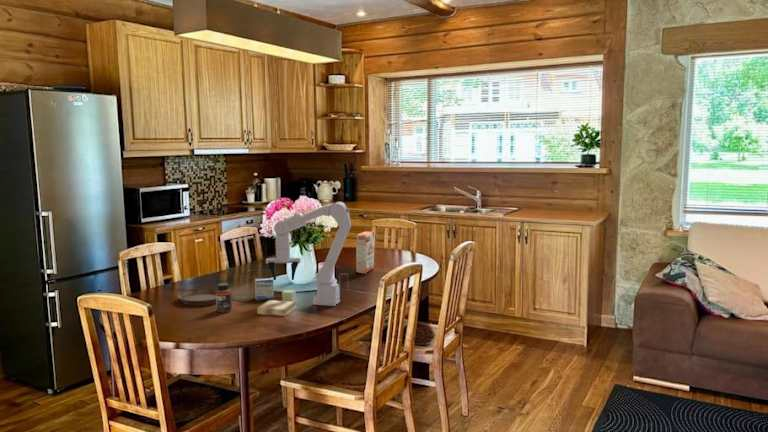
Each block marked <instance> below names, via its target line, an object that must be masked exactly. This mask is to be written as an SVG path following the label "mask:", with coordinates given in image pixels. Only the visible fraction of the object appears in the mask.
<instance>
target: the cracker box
mask: <svg viewBox="0 0 768 432" xmlns="http://www.w3.org/2000/svg"><path fill="white" fill-rule="evenodd" d="M355 244H356V245H355V246H356V249H355V250H356V254H355V256H356V257H355V261H356V263H355V265H356V269H355V270H356V271H355V273H356V272H359V273H367V272H368V271H369V270H371V269H372V268H374V269H375V232H374V231H363V232H359V233H358V234H356V243H355ZM367 274H368V273H367Z"/></svg>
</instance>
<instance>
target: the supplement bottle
mask: <svg viewBox="0 0 768 432" xmlns="http://www.w3.org/2000/svg"><path fill="white" fill-rule="evenodd" d="M216 289H217V290H216V303H215V304H216V312H217V313H222V314H224V313H228V312H231V311H232V309H233V306H232V290H231V288H229V284H228V283H227V282H223V283H218V284H217V288H216Z"/></svg>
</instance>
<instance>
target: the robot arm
mask: <svg viewBox="0 0 768 432" xmlns="http://www.w3.org/2000/svg"><path fill="white" fill-rule="evenodd" d="M321 216H325V217H330V216H331V217H332V218H333V219H334V220H335V222H336V223H337V225H338V228H337V232H336V234H335V236H334V238H333V242H332V244H331V246H330V249H329V251H328V254H327V256H326V258H325V260H324V262H323V265H322V266H321V267H320V268H319V271H317V273H316V277H315V279H316V301H315V302H314V303H313V305H315V306H328V307H330V306H331V307H335V306H337V305H338V304H339V303H340V302H341V297H340V296H341V295H340V294H341V293H340V284H339V283H336V282H334V280H333V277H334V274H335V273H334V272H335V270H334V269H335V266H336V264H337V261H338V258H339V255H340V254H341V251H342V249H343V246H344V244H345V241H346V240H347V237H348V235H349V233H350V230H351V227H352V221H351V215H350V210H349V208H348V206H347V205H346V203H345V202H343V201H337V202H335V203H334V202H332V203H329V204H325V205H323V206H321V207H318V208H316V209H314V210H312V211H309V212H306V213H304V214H303V213H300V212H299V213H298V212H294V213H293V215H291V216H289V217H284V218H283V219H280V220H278V221H277V222H276V223H275V224H274V227H273V231H274V232H275V248H276V249H275V250H276V251H275V254H276V257H269V258H266V259H265V264H266V265H267V264H268V265H267V266H268V268H269V270H270V272H271V274H272V275H271V276H272V278H273V281H277V264H290V268H291V281H294V280H295V274H296V271H297V267H298V266H299V264H301V262H302V260H301V257H291V248H290V247H291V245H290V232H291V231H294V230H296V229H299V228H302V227H304V226H306V223H307V222H309V221H311V220H313V219H317V218H319V217H321ZM336 304H337V305H336Z"/></svg>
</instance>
